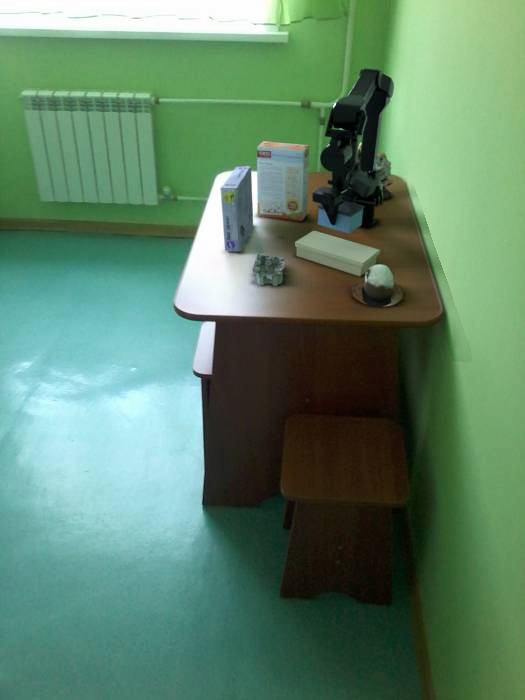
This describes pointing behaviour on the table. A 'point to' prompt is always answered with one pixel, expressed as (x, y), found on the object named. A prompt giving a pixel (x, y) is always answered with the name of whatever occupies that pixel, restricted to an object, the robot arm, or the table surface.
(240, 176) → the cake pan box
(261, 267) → the egg carton
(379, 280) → the egg in cup
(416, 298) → the table surface
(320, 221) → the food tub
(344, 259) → the cream lidded box
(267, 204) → the cracker box
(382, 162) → the owl figurine
